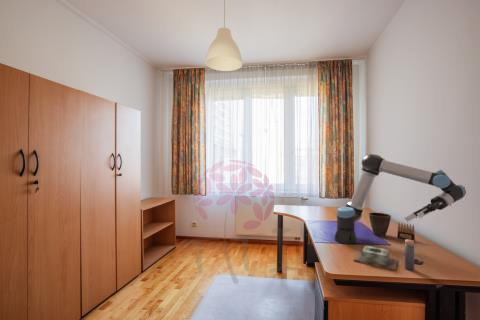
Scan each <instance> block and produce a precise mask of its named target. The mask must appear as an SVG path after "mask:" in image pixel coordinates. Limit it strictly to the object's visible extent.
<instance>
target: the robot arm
mask: <svg viewBox="0 0 480 320" xmlns="http://www.w3.org/2000/svg"><path fill="white" fill-rule="evenodd" d="M361 166H362V167H361V175H360V178H359V179H358V182H357V185H356V186H355V190H354V192H353V193H352V197H351V199H350V201H348V202H346V205H345V206H340V207H338V208H337V211H336V229H335V230H336V231H335V234H334V237H333V240H334V241H335V242H337V243H341V244H343V245H344V244H345V245H355V244H357V243H358V237H357V234H356V231H355V226H356V225H355V223H357V222H359V221H360V220H361V218H362V215H363V211H364V208H363V205H364V204H365V201H366V198H367V197H368V194H369V192H370V190H371V187H372V184H373V183H374V180H375V178H376V177H378V176H379V175H380V173H386V174H389V175H392V176H397V177H399V178H400V177H401V178H404V179H408V180H412V181H415V182H419V183H422V184H426V185H429V186H432V187H436V188H437V189H438V188H439V189H440V190H441V191H442V192H441V193H439V194H438V195H436V196H434V197H432V198H431V199H430V203H428V204H427V205H425V206H423V207H422V208H420V209H418V210H416V211H414V212H412V213H411V214H409V215H407V216H406V217H404V220H405V222H406V223H409V222H411V221H412V220H414V219H417V218H419V219H421V218H423V217H425V216H427V215H428V214H431V213H432V212H436V210H438V211H442V210H444V209H446V208H447V207H449V206H450V207H451V206H452V205H453V204H454V203H456V202H458V201H459V200H462V199H463V198H465V197H466V196H465V194H466V190H465V188H466V187H465V186H463V185H461V184H456V183H455V182H453V180H452V179H451V178H450V177H449V176H448V175H447V173H446V172H444V171H443V170H442V169H440V170H438V171H436V172H433V171H428V170H425V169H421V168H416V167H413V166H409V165H404V164H401V163H395V162H391V161H388V160H386V159H385V158H383V157H381V155H378V154H373V153H370V154H367V155H365V156H364V157H362V159H361ZM464 196H465V197H464Z"/></svg>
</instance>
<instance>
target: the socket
mask: <svg viewBox="0 0 480 320" xmlns="http://www.w3.org/2000/svg"><path fill="white" fill-rule="evenodd" d="M389 250H390V249H386V248H383V247H382V248H381V247H377V246H376V247H375V246H369V245H364V247H363V248H362V250H361V251H360V250H358V252H357V253H356V255H355V256H354V258H353V260H352V261H353V262H356V263H360V264H365V265H369V266H374V267H378V268H382V269H386V270H391V271H396V268H397V262H398V259H397V258H394V257H390V256H389V254H390V253H389V252H390V251H389Z"/></svg>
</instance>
